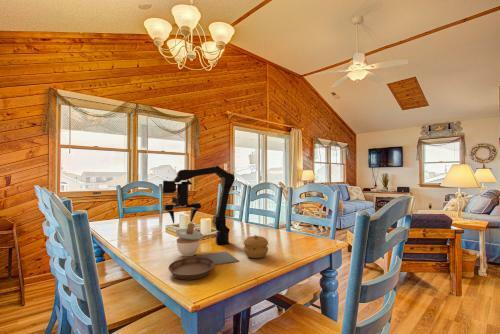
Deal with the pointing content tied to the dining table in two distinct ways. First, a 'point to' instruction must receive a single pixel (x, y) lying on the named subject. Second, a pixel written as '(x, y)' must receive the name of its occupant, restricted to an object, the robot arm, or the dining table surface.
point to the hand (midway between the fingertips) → (182, 222)
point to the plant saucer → (191, 267)
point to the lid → (189, 233)
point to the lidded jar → (187, 246)
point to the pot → (255, 246)
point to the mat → (219, 257)
